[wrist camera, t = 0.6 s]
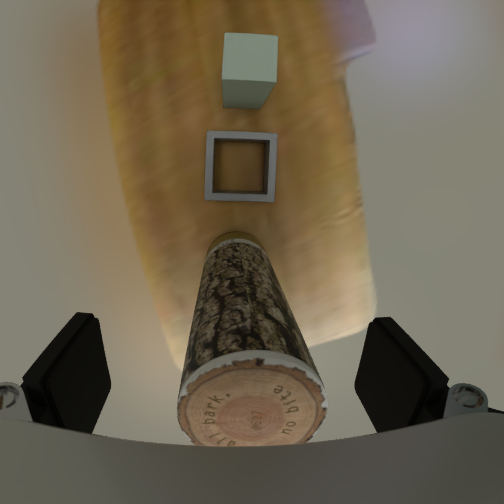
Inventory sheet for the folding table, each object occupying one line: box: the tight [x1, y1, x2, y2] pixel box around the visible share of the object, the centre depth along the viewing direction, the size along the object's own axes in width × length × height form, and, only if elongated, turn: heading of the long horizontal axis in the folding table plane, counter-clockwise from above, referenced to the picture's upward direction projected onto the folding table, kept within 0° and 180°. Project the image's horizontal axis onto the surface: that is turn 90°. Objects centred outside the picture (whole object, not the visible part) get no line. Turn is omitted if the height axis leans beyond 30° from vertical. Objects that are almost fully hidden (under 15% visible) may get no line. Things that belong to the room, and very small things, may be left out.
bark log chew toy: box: [177, 232, 328, 446], centre depth 25 cm, size 7×7×25 cm
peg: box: [222, 33, 278, 109], centre depth 26 cm, size 4×4×12 cm
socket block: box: [205, 131, 277, 202], centre depth 32 cm, size 7×7×4 cm
